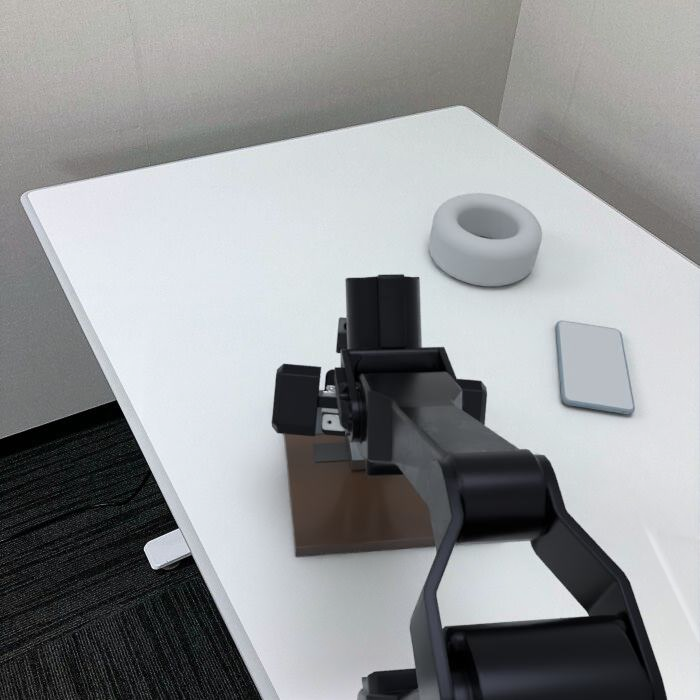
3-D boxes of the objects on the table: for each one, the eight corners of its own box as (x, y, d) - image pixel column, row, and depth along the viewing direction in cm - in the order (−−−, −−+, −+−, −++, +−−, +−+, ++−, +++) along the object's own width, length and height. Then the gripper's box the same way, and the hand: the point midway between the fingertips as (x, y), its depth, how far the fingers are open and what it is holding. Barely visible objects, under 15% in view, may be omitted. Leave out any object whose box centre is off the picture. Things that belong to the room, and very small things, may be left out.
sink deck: (501, 541, 75) (504, 532, 74) (295, 557, 72) (295, 547, 71) (453, 392, 89) (456, 383, 88) (280, 400, 86) (280, 390, 85)
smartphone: (621, 328, 99) (636, 412, 88) (619, 334, 100) (634, 417, 88) (556, 318, 99) (562, 400, 88) (554, 324, 100) (560, 406, 89)
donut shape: (524, 301, 103) (536, 261, 98) (415, 273, 106) (422, 233, 101) (540, 242, 114) (551, 203, 109) (441, 218, 116) (448, 179, 112)
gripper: (507, 319, 62) (473, 332, 78) (276, 299, 62) (288, 315, 78) (497, 458, 62) (464, 442, 77) (264, 438, 62) (278, 426, 77)
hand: (374, 403), depth 77 cm, fingers closed on tap, 3 cm apart
